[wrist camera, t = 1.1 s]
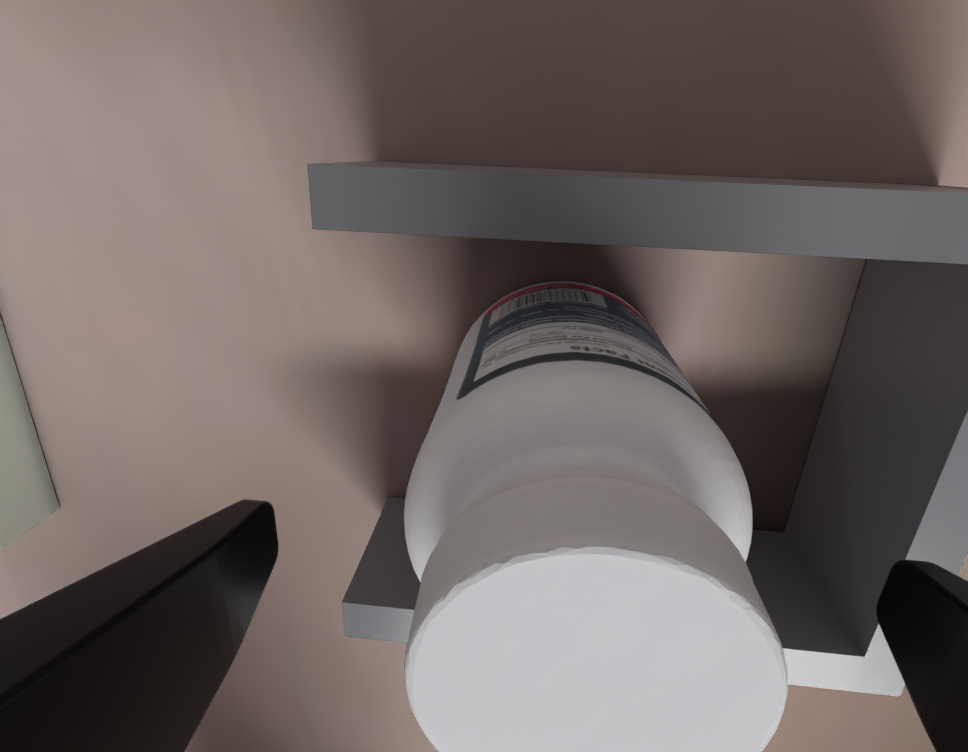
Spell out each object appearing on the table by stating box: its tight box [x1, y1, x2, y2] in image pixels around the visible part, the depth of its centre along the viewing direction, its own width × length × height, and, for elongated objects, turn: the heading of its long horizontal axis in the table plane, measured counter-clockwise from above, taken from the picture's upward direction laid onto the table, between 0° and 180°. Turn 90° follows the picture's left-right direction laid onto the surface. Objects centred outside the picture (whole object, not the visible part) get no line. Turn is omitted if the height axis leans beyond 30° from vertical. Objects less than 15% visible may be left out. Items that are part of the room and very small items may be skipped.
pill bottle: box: [404, 281, 788, 752], centre depth 10 cm, size 5×5×9 cm
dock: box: [308, 161, 968, 697], centre depth 12 cm, size 10×12×4 cm
